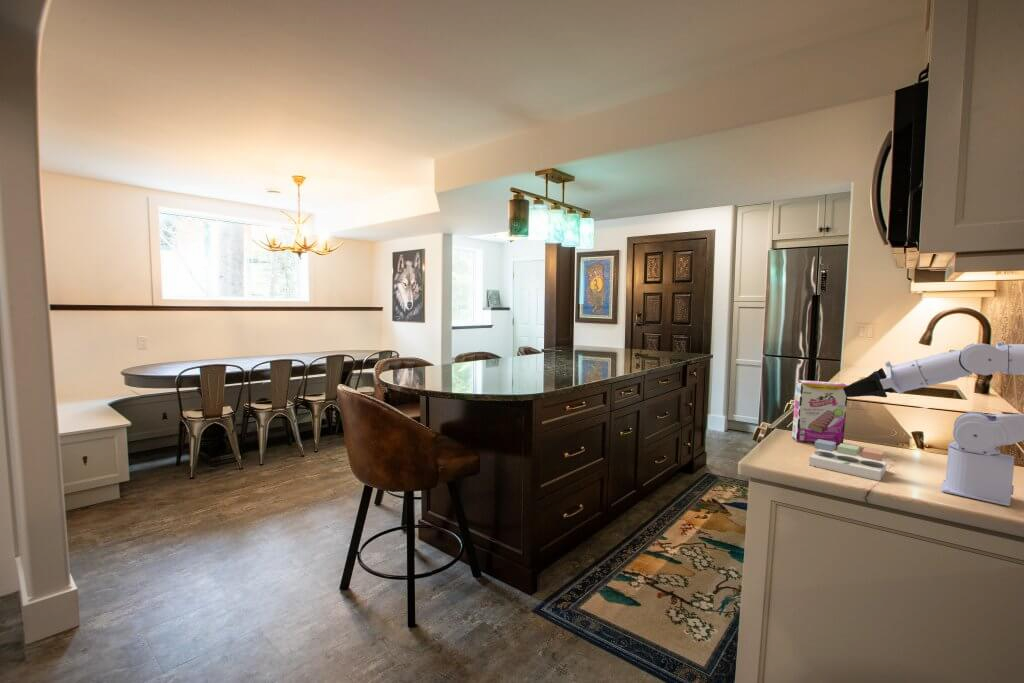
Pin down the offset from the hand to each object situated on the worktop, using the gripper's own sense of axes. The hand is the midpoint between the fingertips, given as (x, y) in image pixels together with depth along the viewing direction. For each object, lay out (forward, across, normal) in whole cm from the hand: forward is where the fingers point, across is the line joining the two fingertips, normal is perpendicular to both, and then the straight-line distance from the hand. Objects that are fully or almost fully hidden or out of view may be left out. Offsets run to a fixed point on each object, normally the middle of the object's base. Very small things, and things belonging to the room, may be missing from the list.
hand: (848, 390), depth 107 cm
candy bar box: (+15, -19, +12) cm, 27 cm away
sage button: (+5, 0, +13) cm, 14 cm away
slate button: (+9, 0, +11) cm, 15 cm away
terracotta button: (+1, +1, +15) cm, 15 cm away
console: (+6, 0, +16) cm, 18 cm away
